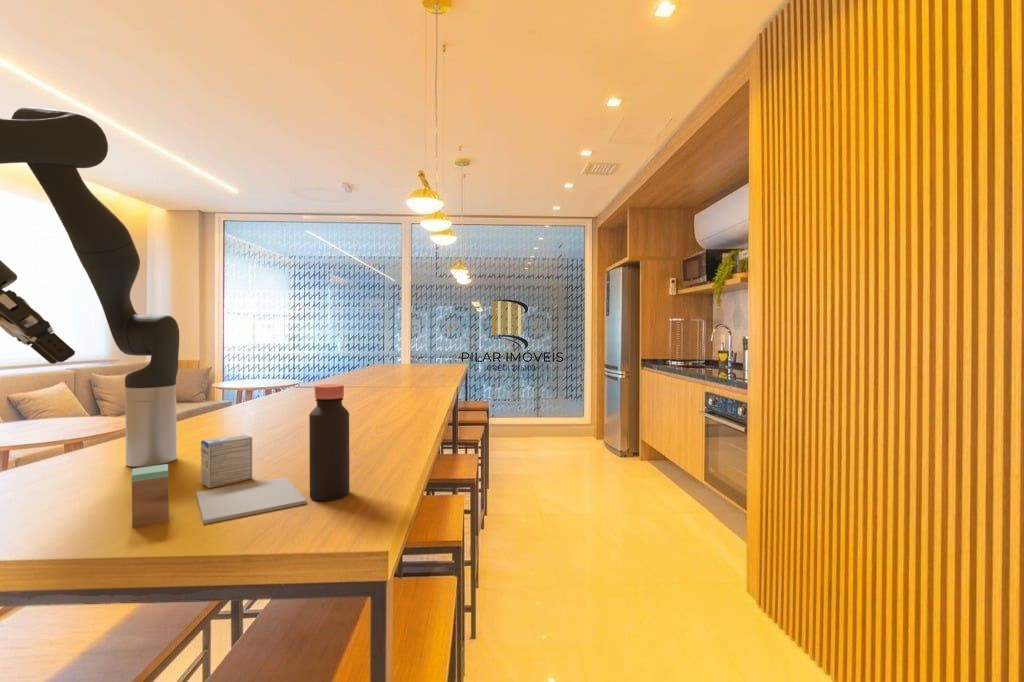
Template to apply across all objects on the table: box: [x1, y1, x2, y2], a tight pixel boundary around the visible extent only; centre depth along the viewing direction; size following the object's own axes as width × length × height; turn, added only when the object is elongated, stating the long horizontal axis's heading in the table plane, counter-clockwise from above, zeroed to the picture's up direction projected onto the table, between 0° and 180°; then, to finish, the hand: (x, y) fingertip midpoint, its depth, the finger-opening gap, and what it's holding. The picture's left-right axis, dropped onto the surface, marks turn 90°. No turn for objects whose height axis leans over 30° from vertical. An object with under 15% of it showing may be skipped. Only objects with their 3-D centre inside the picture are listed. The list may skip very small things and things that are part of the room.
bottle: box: [308, 383, 350, 502], centre depth 87 cm, size 7×7×20 cm
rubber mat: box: [195, 476, 307, 525], centre depth 85 cm, size 16×15×1 cm
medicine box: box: [200, 433, 253, 489], centre depth 95 cm, size 8×4×9 cm, turn 141°
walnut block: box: [131, 463, 170, 529], centre depth 75 cm, size 4×4×8 cm
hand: (64, 359), depth 69 cm, fingers open, 8 cm apart
